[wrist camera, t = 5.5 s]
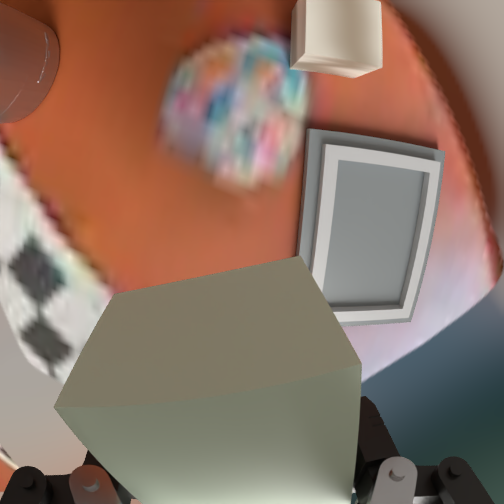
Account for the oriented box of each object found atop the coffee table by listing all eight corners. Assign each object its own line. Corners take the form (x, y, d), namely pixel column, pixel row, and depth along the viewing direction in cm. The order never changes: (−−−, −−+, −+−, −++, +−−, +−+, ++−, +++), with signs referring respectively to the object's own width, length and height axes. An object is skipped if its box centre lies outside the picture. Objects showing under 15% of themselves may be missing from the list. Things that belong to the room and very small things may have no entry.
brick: (321, 442, 13) (346, 527, 9) (201, 463, 13) (200, 549, 9) (300, 255, 10) (362, 363, 5) (113, 294, 10) (53, 407, 5)
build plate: (288, 321, 28) (291, 333, 26) (306, 128, 22) (312, 128, 20) (406, 316, 29) (414, 326, 27) (438, 150, 23) (450, 152, 21)
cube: (289, 69, 21) (305, 52, 16) (291, 11, 19) (306, -15, 14) (353, 78, 21) (382, 67, 16) (354, 22, 19) (380, 2, 15)
